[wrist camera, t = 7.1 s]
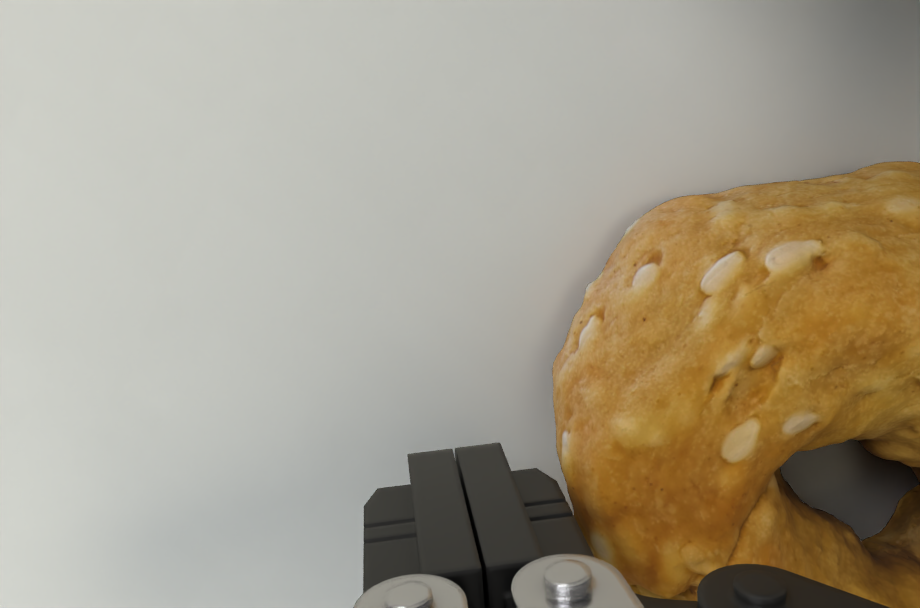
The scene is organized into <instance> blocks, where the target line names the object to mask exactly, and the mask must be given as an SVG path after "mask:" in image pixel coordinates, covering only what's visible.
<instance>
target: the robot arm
mask: <svg viewBox="0 0 920 608" xmlns="http://www.w3.org/2000/svg"><path fill="white" fill-rule="evenodd" d="M408 464H409V473H410V482H411V484H410V485H402V486H394V487H386V488H378V489H377V490H376V491H375V493H374V494H373V495H372V496H371V498H370V499H369V500H368V502H367V503H366V504H365V506H364V577H363V594H362V595H361V597H360V598H359V599H358V600H357V602H356V603H355V605H354V607H353V608H890V607H887V606H885V605H882V604H879V603H876V602H873V601H871V600H868V599H865V598H862V597H860V596H857V595H854V594H851V593H848V592H846V591H843V590H840V589H837V588H834V587H832V586H829V585H826V584H823V583H820V582H818V581H815V580H812V579H809V578H806V577H804V576H801V575H798V574H795V573H792V572H790V571H787V570H784V569H780V568H777V567H772V566H768V565H760V564H735V565H729V566H725V567H722V568H718V569H716V570H714V571H712V572H710V573H709V574H707V575H706V576H705V577H704V578H703V579H702V580H701V581H700V583H699V585H698V590H697V601H687V600H672V599H661V598H653V597H648V596H643V595H640V594H636V593H634V591H633V590H632V589H631V587H630V586H629V584H628V583H627V581H626V580H625V578H624V577H623V575H622V574H621V573H620V572H619V571H618V570H617V569H616V568H615V567H614V566H612V565H611V564H609V563H607V562H605V561H603V560H601V559H598V558H595V557H594V555H593V553H592V551H591V549H590V547H589V545H588V543H587V541H586V539H585V537H584V535H583V533H582V531H581V529H580V527H579V525H578V523H577V521H576V519H575V517H574V516H573V515H572V511H571V509H570V507H569V505H568V503H567V502H566V501H565V497H564V495H563V493H562V491H561V489H560V487H559V485H558V483H557V481H556V480H554V479H552V478H551V477H549V476H548V475H546V474H545V473H543V472H542V471H540V470H538V469H537V468H534V469H526V470H518V471H511V470H510V467H509V465H508V462H507V459H506V457H505V454H504V452H503V449H502V447H501V444H500V443H492V444H484V445H476V446H468V447H460V448H455V458H454V454H453V450H452V449H445V450H437V451H429V452H421V453H413V454H408Z"/></svg>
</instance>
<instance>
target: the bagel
mask: <svg viewBox="0 0 920 608" xmlns="http://www.w3.org/2000/svg"><path fill="white" fill-rule="evenodd" d="M585 291H586V292H585V296H584V301H583V304H582V306H581V308H580V309H579V310H578V312H577V313H576V315H575V316H574V318H573V321H572V324H571V327H570V329H569V332H568V335H567V338H566V341H565V344H564V346H563V348H562V350H561V351H560V353H559V354H558V355H557V357H556V359H555V361H554V363H553V371H552V374H553V387H554V389H553V402H554V412H555V423H556V448H557V454H558V457H559V461H560V465H561V469H562V472H563V474H564V477H565V481H566V483H567V489H568V493H569V497H570V500H571V502H572V505H573V509H574V517H575V519H576V521H577V523H578V525H579V527H580V529H581V531H582V533H583V535H584V537H585V539H586V541H587V543H588V545H589V547H590V549H591V551H592V553H593V555H594V557H595V558H598V559H601V560H603V561H605V562H607V563H609V564H611V565H612V566H614V567H615V568H616V569H617V570H618V571H619V572H620V573H621V574H622V575H623V577H624V578H625V580H626V581H627V583H628V584H629V586H630V587H631V589H632V590H633V591H634V593H636V594H640V595H643V596H648V597H653V598H661V599H672V600H687V601H697V590H698V585H699V583H700V581H701V580H702V579H703V578H704V577H705V576H706V575H707V574H709V573H710V572H712V571H714V570H716V569H718V568H722V567H725V566H729V565H735V564H760V565H768V566H772V567H777V568H780V569H784V570H787V571H790V572H792V573H795V574H798V575H801V576H804V577H806V578H809V579H812V580H815V581H818V582H820V583H823V584H826V585H829V586H832V587H834V588H837V589H840V590H843V591H846V592H848V593H851V594H854V595H857V596H860V597H862V598H865V599H868V600H871V601H873V602H876V603H879V604H882V605H885V606H887V607H890V608H920V484H919V485H917V486H916V487H914V488H913V489H911V490H910V491H908V492H907V493H906V494H905V495H904V496H903V497H902V498H901V499H900V500H899V501H898V505H897V508H896V510H895V513H894V514H893V516H892V517H891V519H890V521H889V522H888V524H887V525H886V527H885V528H884V529H883V530H882V531H881V532H880V533H878V534H876V535H874V536H872V537H869V538H867V539H865V540H863V541H860V539H859V537H858V536H857V535H856V534H855V533H854V531H853V529H852V528H851V527H850V526H849V525H847V524H845V523H844V522H841V521H840V520H838V519H836V518H835V517H834V516H833V515H831V514H828V513H827V512H825V511H822V510H819V509H815V508H812V507H810V506H809V505H807V504H806V503H804V502H802V501H801V500H800V499H799V497H798V496H797V495H796V494H795V492H794V491H793V490H792V488H791V487H790V485H789V484H788V483H787V482H786V480H784V478H783V477H782V475H781V473H780V468H779V467H780V466H782V465H783V464H784V463H785V462H786V461H787V460H788V459H789V458H790V457H791V456H792V455H793V454H794V453H795V452H797V451H809V450H814V449H817V448H820V447H824V446H828V445H831V444H838V443H843V442H845V441H846V440H849V439H853V440H858V441H859V442H860V443H861V444H862V445H863V447H864V448H865V449H866V450H867V451H869V452H870V453H872V454H873V455H875V456H877V457H879V458H882V459H886V460H896V461H899V462H901V463H903V464H905V465H907V466H910V467H911V469H912V470H913V471H914V473H915V475H916V477H917V479H918V481H919V483H920V163H918V162H883V163H877V164H874V165H871V166H868V167H864V168H861V169H858V170H857V171H855V172H852V173H848V174H843V175H833V176H828V177H824V178H817V179H808V180H803V181H789V182H774V183H768V184H759V185H747V186H741V187H736V188H733V189H730V190H727V191H723V192H720V193H716V194H704V195H690V196H683V197H678V198H675V199H672V200H669V201H667V202H665V203H663V204H661V205H659V206H657V207H655V208H654V209H652V210H650V211H649V212H648V213H646V214H644V215H643V216H642V217H640V218H639V219H637V220H636V221H635V222H634V223H633V224H632V225H631V226H630V227H628V228H627V230H626V232H625V234H624V236H623V238H622V239H621V241H620V242H619V244H618V245H617V247H616V249H615V250H614V252H613V253H612V254H611V256H610V258H609V259H608V261H607V263H606V266H605V268H604V269H603V271H602V273H601V274H600V275H599V277H598V278H597V279H596V280H595V281H593V282H591V283H589V284H588V286H587V288H586V290H585Z"/></svg>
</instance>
